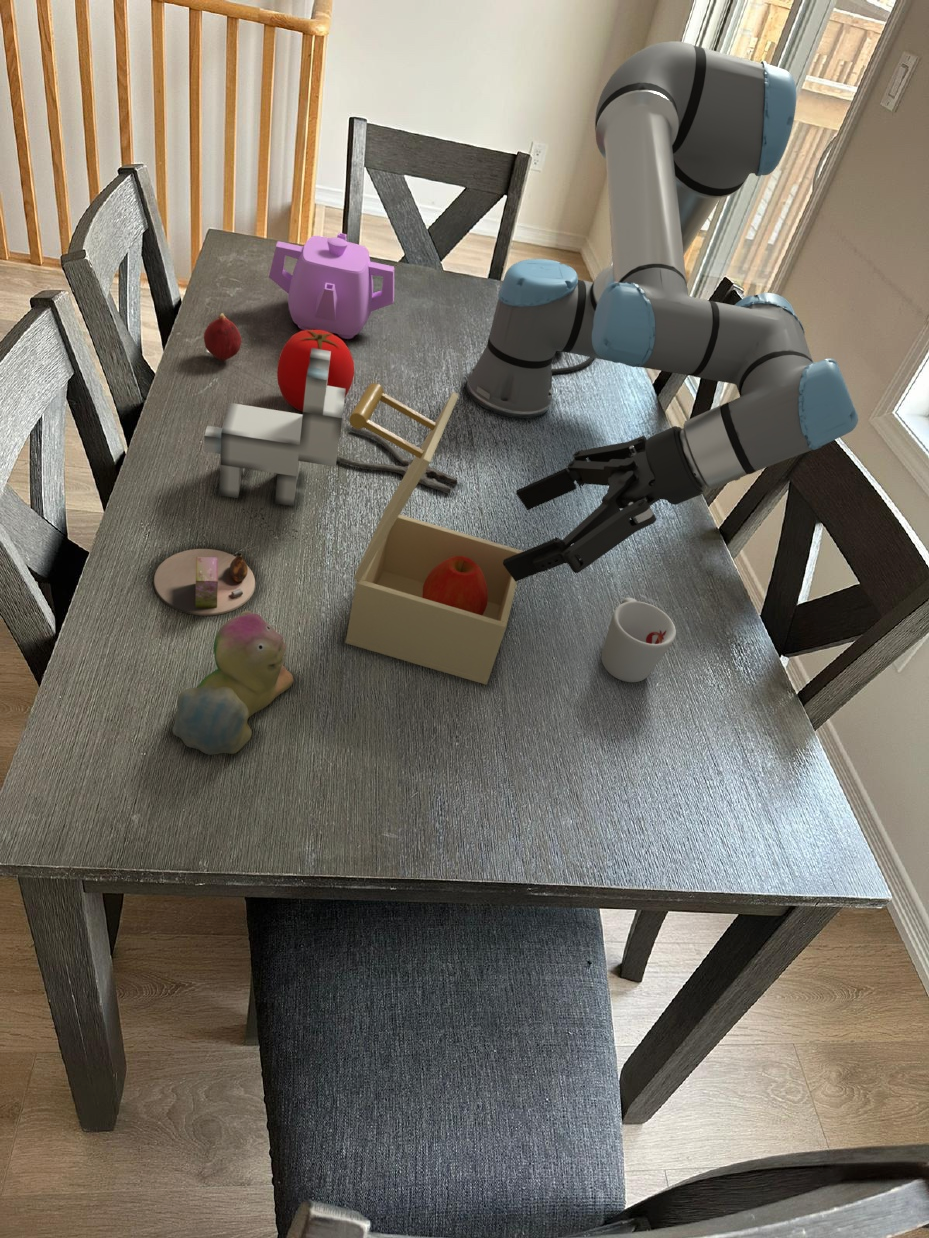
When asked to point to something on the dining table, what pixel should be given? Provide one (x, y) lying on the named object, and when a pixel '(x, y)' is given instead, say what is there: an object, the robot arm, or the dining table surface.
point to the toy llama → (280, 435)
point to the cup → (636, 640)
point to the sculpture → (233, 686)
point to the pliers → (400, 469)
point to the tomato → (297, 363)
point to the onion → (222, 338)
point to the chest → (431, 602)
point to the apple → (457, 585)
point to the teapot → (331, 284)
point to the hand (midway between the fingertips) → (515, 533)
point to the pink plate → (204, 582)
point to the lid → (422, 454)
